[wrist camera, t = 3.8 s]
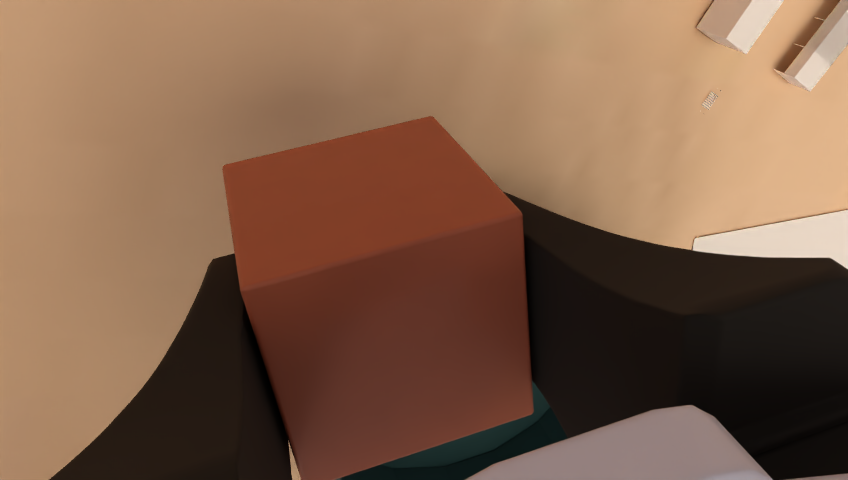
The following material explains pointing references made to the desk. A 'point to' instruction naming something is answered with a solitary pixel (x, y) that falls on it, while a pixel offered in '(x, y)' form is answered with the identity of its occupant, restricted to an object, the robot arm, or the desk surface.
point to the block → (382, 294)
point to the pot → (474, 449)
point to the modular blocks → (748, 16)
